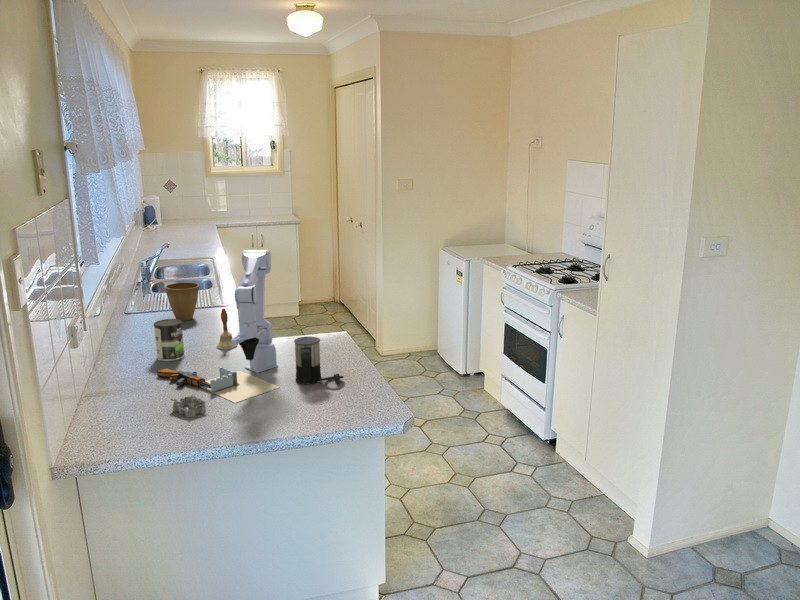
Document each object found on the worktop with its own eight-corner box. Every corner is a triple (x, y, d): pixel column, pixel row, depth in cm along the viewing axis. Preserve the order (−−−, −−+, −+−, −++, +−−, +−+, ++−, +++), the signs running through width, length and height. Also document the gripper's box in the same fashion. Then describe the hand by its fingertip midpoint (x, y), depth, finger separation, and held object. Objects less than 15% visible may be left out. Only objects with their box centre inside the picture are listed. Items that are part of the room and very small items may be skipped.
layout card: (239, 370, 241) (239, 370, 241) (279, 387, 226) (279, 386, 225) (195, 384, 228) (195, 383, 228) (235, 403, 213) (235, 402, 213)
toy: (153, 377, 235) (178, 370, 242) (196, 395, 218) (221, 386, 226) (152, 371, 234) (177, 363, 242) (195, 388, 218) (220, 379, 225)
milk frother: (293, 377, 235) (291, 337, 232) (335, 371, 241) (334, 332, 237) (301, 391, 223) (300, 349, 219) (346, 385, 228) (345, 344, 224)
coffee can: (190, 354, 259) (187, 319, 256) (173, 362, 250) (170, 327, 246) (168, 351, 263) (165, 317, 259) (151, 359, 253) (147, 324, 250)
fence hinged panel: (236, 383, 228) (235, 371, 227) (238, 384, 228) (237, 372, 226) (210, 391, 221) (209, 379, 220) (212, 392, 221) (211, 380, 219)
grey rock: (170, 410, 208) (168, 398, 207) (191, 403, 214) (190, 391, 213) (188, 419, 201) (186, 407, 200) (209, 412, 207) (208, 399, 206)
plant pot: (183, 324, 299) (180, 290, 295) (161, 320, 306) (158, 286, 302) (208, 316, 311) (205, 284, 307) (186, 312, 318) (183, 280, 314)
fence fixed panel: (235, 383, 228) (234, 371, 227) (232, 384, 228) (232, 372, 227) (222, 377, 234) (221, 366, 233) (220, 378, 233) (219, 367, 232)
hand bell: (225, 351, 263) (222, 312, 259) (212, 347, 268) (209, 309, 264) (241, 345, 270) (239, 308, 266) (228, 342, 274) (225, 305, 270)
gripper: (252, 314, 229) (254, 351, 232) (223, 325, 216) (226, 364, 220) (268, 317, 225) (270, 354, 229) (240, 328, 213) (242, 367, 216)
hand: (249, 359), depth 224 cm, fingers closed
